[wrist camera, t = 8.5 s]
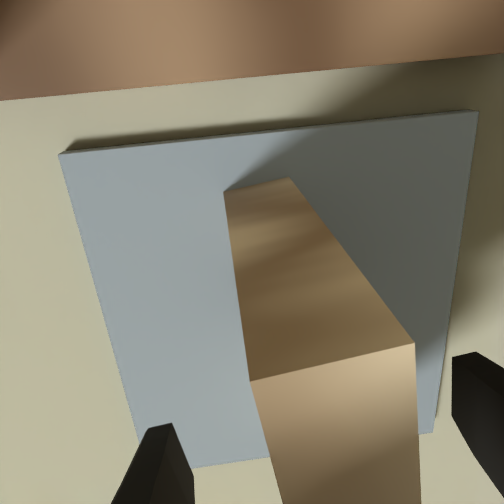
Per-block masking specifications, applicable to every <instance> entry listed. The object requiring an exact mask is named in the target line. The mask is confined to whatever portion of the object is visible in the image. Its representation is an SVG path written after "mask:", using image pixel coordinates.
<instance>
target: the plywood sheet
mask: <svg viewBox="0 0 504 504" xmlns="http://www.w3.org/2000/svg"><path fill="white" fill-rule="evenodd" d="M223 195H224V202H225V209H226V217H227V224H228V231H229V238H230V245H231V252H232V259H233V266H234V274H235V281H236V288H237V295H238V302H239V309H240V316H241V323H242V330H243V338H244V345H245V352H246V359H247V366H248V373H249V380H250V385H251V388H252V392H253V396H254V399H255V403H256V407H257V410H258V414H259V418H260V421H261V425H262V429H263V432H264V436H265V440H266V443H267V447H268V451H269V454H270V458H271V462H272V465H273V469H274V473H275V476H276V480H277V484H278V487H279V491H280V495H281V498H282V502H283V504H421V486H420V461H419V436H418V411H417V385H416V360H415V343H414V341H413V340H412V339H411V337H410V336H409V335H408V333H407V332H406V331H405V329H404V328H403V327H402V325H401V324H400V323H399V321H398V320H397V319H396V317H395V316H394V315H393V313H392V312H391V311H390V309H389V308H388V307H387V306H386V304H385V303H384V302H383V300H382V299H381V298H380V296H379V295H378V294H377V292H376V291H375V290H374V288H373V287H372V286H371V284H370V283H369V282H368V280H367V279H366V278H365V276H364V275H363V274H362V272H361V271H360V270H359V269H358V267H357V266H356V265H355V263H354V262H353V261H352V259H351V258H350V257H349V255H348V254H347V253H346V251H345V250H344V249H343V247H342V246H341V245H340V243H339V242H338V241H337V239H336V238H335V237H334V235H333V234H332V233H331V232H330V230H329V229H328V228H327V226H326V225H325V224H324V222H323V221H322V220H321V218H320V217H319V216H318V214H317V213H316V212H315V210H314V209H313V208H312V206H311V205H310V204H309V202H308V201H307V200H306V198H305V197H304V196H303V195H302V193H301V192H300V191H299V189H298V188H297V187H296V185H295V184H294V183H293V181H292V180H291V179H290V177H285V178H281V179H277V180H272V181H268V182H264V183H259V184H255V185H251V186H246V187H242V188H238V189H233V190H229V191H225V192H223Z"/></svg>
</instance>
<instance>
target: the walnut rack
mask: <svg viewBox="0 0 504 504" xmlns="http://www.w3.org/2000/svg"><path fill="white" fill-rule="evenodd" d="M500 53H504V0H0V101H3V100H14V99H25V98H35V97H46V96H56V95H67V94H77V93H88V92H98V91H109V90H120V89H130V88H141V87H151V86H162V85H172V84H183V83H194V82H204V81H215V80H225V79H236V78H246V77H257V76H267V75H278V74H289V73H299V72H310V71H320V70H331V69H341V68H352V67H363V66H373V65H384V64H394V63H405V62H415V61H426V60H436V59H447V58H458V57H468V56H479V55H489V54H500Z"/></svg>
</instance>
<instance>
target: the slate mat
mask: <svg viewBox="0 0 504 504" xmlns="http://www.w3.org/2000/svg"><path fill="white" fill-rule="evenodd" d="M478 116H479V111H474V110H461V111H451V112H441V113H431V114H422V115H412V116H402V117H393V118H383V119H373V120H363V121H354V122H344V123H334V124H324V125H315V126H305V127H295V128H285V129H276V130H266V131H256V132H246V133H237V134H227V135H217V136H208V137H198V138H188V139H178V140H169V141H159V142H149V143H139V144H130V145H120V146H110V147H100V148H91V149H81V150H71V151H63V152H62V153H60V154H58V157H59V161H60V164H61V168H62V171H63V175H64V179H65V182H66V186H67V189H68V193H69V196H70V200H71V203H72V207H73V210H74V214H75V217H76V221H77V224H78V228H79V232H80V235H81V239H82V242H83V246H84V249H85V253H86V256H87V260H88V263H89V267H90V270H91V274H92V277H93V281H94V285H95V288H96V292H97V295H98V299H99V302H100V306H101V309H102V313H103V316H104V320H105V323H106V327H107V330H108V334H109V337H110V341H111V345H112V348H113V352H114V355H115V359H116V362H117V366H118V369H119V373H120V376H121V380H122V383H123V387H124V390H125V394H126V398H127V401H128V405H129V408H130V412H131V415H132V419H133V422H134V426H135V429H136V433H137V436H138V440H139V443H141V440H142V438H143V436H144V434H145V432H146V430H147V429H148V428H150V427H155V426H159V425H163V424H167V423H172V424H173V426H174V429H175V431H176V434H177V436H178V439H179V441H180V444H181V446H182V448H183V451H184V453H185V456H186V458H187V461H188V463H189V466H190V468H191V469H193V468H199V467H206V466H213V465H219V464H226V463H233V462H239V461H246V460H253V459H259V458H266V457H270V454H269V451H268V447H267V443H266V440H265V436H264V432H263V429H262V425H261V421H260V418H259V414H258V410H257V407H256V403H255V399H254V396H253V392H252V388H251V385H250V380H249V373H248V366H247V359H246V352H245V345H244V338H243V330H242V323H241V316H240V309H239V302H238V295H237V288H236V281H235V274H234V266H233V259H232V252H231V245H230V238H229V231H228V224H227V217H226V209H225V202H224V195H223V192H225V191H229V190H233V189H238V188H242V187H246V186H251V185H255V184H259V183H264V182H268V181H272V180H277V179H281V178H285V177H290V179H291V180H292V181H293V183H294V184H295V185H296V187H297V188H298V189H299V191H300V192H301V193H302V195H303V196H304V197H305V198H306V200H307V201H308V202H309V204H310V205H311V206H312V208H313V209H314V210H315V212H316V213H317V214H318V216H319V217H320V218H321V220H322V221H323V222H324V224H325V225H326V226H327V228H328V229H329V230H330V232H331V233H332V234H333V235H334V237H335V238H336V239H337V241H338V242H339V243H340V245H341V246H342V247H343V249H344V250H345V251H346V253H347V254H348V255H349V257H350V258H351V259H352V261H353V262H354V263H355V265H356V266H357V267H358V269H359V270H360V271H361V272H362V274H363V275H364V276H365V278H366V279H367V280H368V282H369V283H370V284H371V286H372V287H373V288H374V290H375V291H376V292H377V294H378V295H379V296H380V298H381V299H382V300H383V302H384V303H385V304H386V306H387V307H388V308H389V309H390V311H391V312H392V313H393V315H394V316H395V317H396V319H397V320H398V321H399V323H400V324H401V325H402V327H403V328H404V329H405V331H406V332H407V333H408V335H409V336H410V337H411V339H412V340H413V341H414V343H415V360H416V385H417V411H418V435H419V434H425V433H432V432H433V428H434V421H435V414H436V407H437V400H438V393H439V386H440V379H441V372H442V366H443V359H444V352H445V345H446V338H447V331H448V324H449V317H450V310H451V303H452V296H453V289H454V282H455V275H456V268H457V261H458V255H459V248H460V241H461V234H462V227H463V220H464V213H465V206H466V199H467V192H468V185H469V178H470V171H471V164H472V157H473V150H474V144H475V137H476V130H477V123H478Z"/></svg>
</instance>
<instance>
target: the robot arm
mask: <svg viewBox="0 0 504 504" xmlns="http://www.w3.org/2000/svg"><path fill="white" fill-rule="evenodd" d="M452 417H453V419H454V421H455V423H456V425H457V426H458V428H459V430H460V432H461V434H462V436H463V437H464V439H465V441H466V443H467V444H468V446H469V448H470V450H471V451H472V453H473V455H474V456H475V458H476V459H477V461H478V462H479V464H480V465H481V466H482V468H483V469H484V471H485V472H486V473H487V475H488V476H489V478H490V479H491V481H492V482H493V483H494V485H495V486H496V488H497V489H498V490H499V492H500V493H501V495H502V496H503V497H504V368H502V367H501V366H499V365H497V364H496V363H494V362H493V361H491V360H489V359H488V358H486V357H484V356H482V355H481V354H479V353H477V352H472V353H468V354H463V355H459V356H455V357H452ZM111 504H195V496H194V476H193V473H192V471H191V468H190V466H189V463H188V461H187V458H186V456H185V453H184V451H183V448H182V446H181V444H180V441H179V439H178V436H177V434H176V431H175V429H174V426H173V424H172V423H167V424H163V425H159V426H155V427H150V428H148V429H147V430H146V432H145V434H144V436H143V438H142V440H141V443H140V445H139V447H138V449H137V451H136V453H135V456H134V458H133V460H132V462H131V464H130V466H129V468H128V470H127V472H126V475H125V477H124V479H123V481H122V483H121V485H120V487H119V489H118V491H117V493H116V495H115V497H114V499H113V500H112V502H111Z"/></svg>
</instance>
